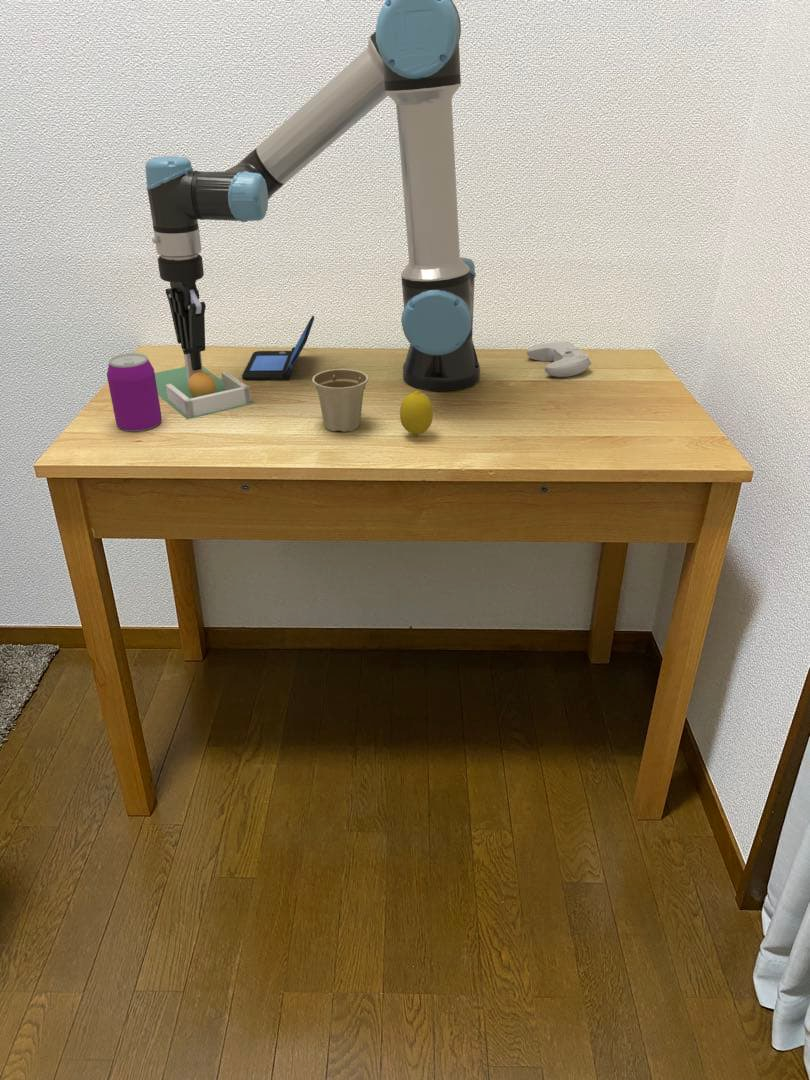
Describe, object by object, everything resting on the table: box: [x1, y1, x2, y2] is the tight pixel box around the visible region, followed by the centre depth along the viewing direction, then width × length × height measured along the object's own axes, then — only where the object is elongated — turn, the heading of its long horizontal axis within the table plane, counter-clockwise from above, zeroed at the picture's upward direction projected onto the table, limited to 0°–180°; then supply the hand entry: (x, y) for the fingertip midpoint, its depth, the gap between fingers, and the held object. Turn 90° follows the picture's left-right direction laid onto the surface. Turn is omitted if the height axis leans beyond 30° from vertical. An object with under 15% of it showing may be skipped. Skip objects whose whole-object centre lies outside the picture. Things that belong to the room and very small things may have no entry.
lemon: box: [399, 390, 434, 437], centre depth 142 cm, size 6×6×8 cm
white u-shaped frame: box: [166, 371, 252, 418], centre depth 155 cm, size 10×12×3 cm
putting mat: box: [155, 365, 255, 420], centre depth 162 cm, size 26×13×1 cm, turn 34°
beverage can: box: [106, 352, 163, 432], centre depth 145 cm, size 8×8×12 cm
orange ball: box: [188, 372, 216, 397], centre depth 156 cm, size 5×5×5 cm
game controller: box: [526, 341, 592, 378], centre depth 172 cm, size 14×4×10 cm
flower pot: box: [311, 368, 369, 433], centre depth 145 cm, size 9×9×9 cm
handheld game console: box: [241, 315, 315, 382], centre depth 170 cm, size 16×13×9 cm
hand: (196, 384), depth 159 cm, fingers closed
